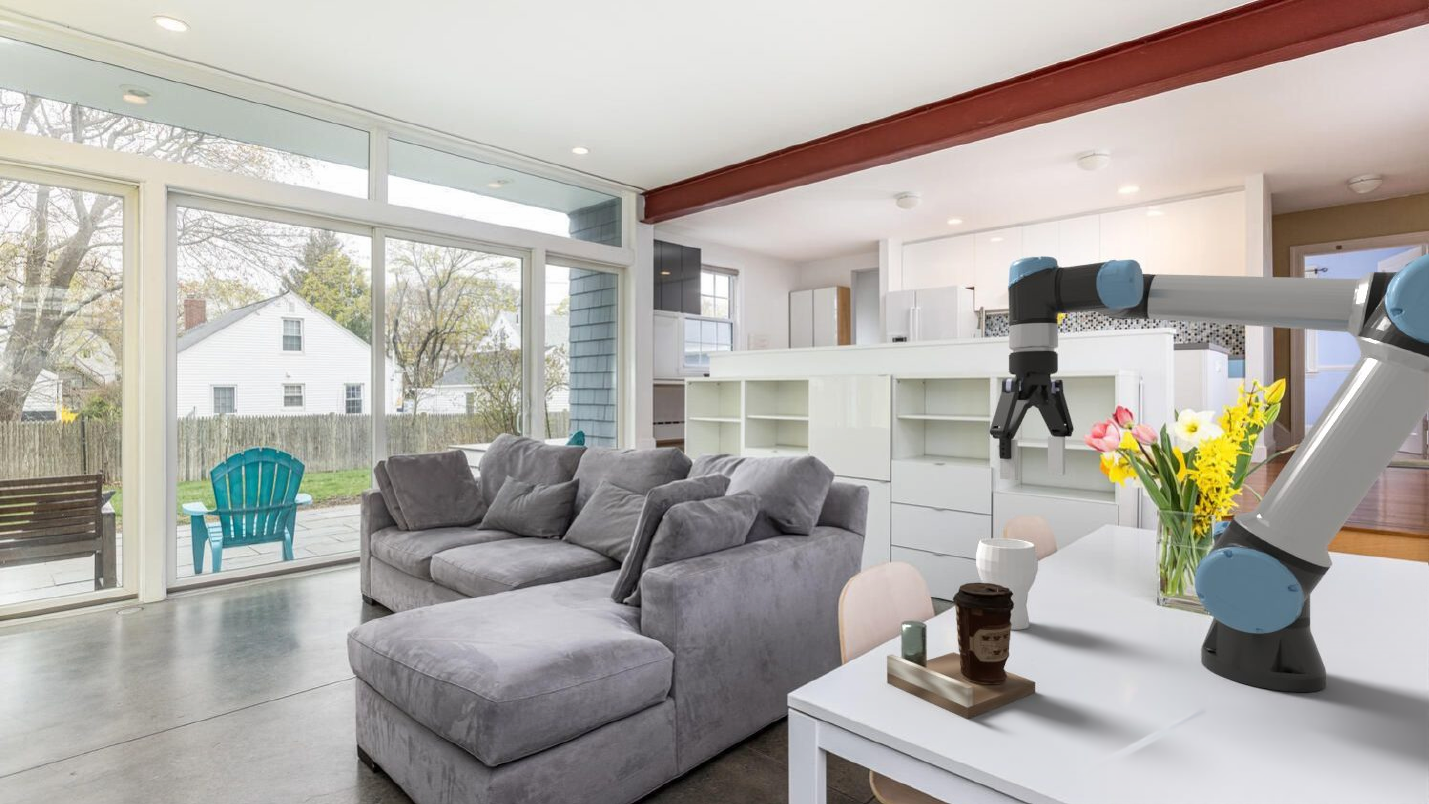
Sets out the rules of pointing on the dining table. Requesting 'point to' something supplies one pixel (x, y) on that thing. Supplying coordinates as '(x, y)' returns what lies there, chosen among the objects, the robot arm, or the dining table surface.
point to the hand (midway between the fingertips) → (1033, 476)
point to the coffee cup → (983, 631)
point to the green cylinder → (914, 642)
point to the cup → (1009, 571)
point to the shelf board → (954, 685)
